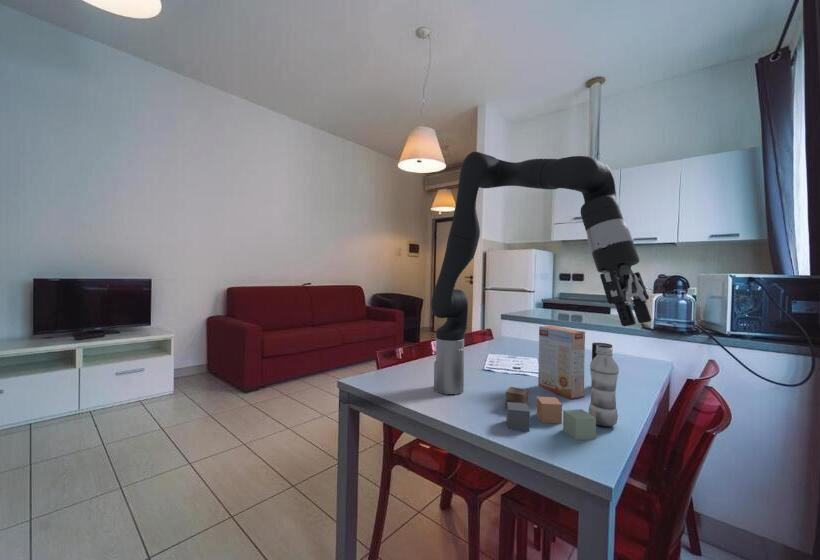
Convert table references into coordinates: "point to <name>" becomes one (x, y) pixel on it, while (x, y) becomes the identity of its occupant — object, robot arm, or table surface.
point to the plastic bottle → (604, 387)
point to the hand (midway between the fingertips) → (637, 323)
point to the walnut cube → (516, 395)
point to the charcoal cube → (518, 416)
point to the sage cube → (579, 424)
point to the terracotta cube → (549, 410)
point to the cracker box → (562, 360)
